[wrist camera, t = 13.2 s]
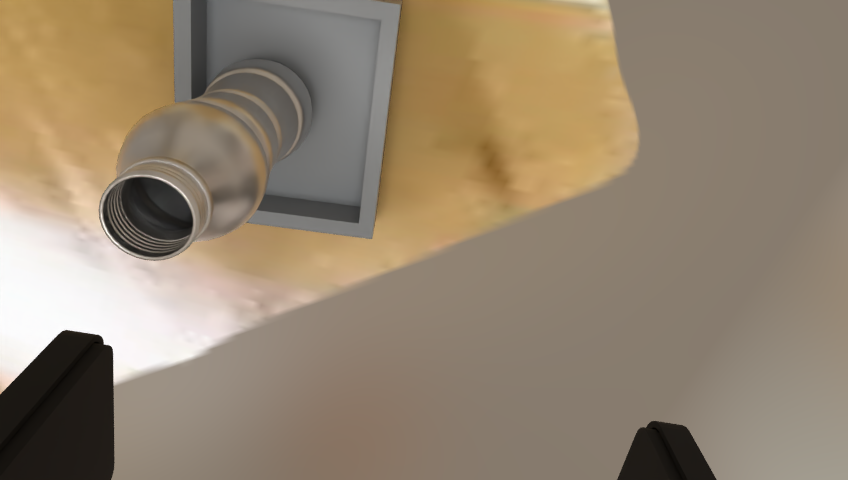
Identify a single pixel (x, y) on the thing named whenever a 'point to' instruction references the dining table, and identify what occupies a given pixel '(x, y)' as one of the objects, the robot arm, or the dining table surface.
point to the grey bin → (328, 88)
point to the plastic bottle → (204, 160)
